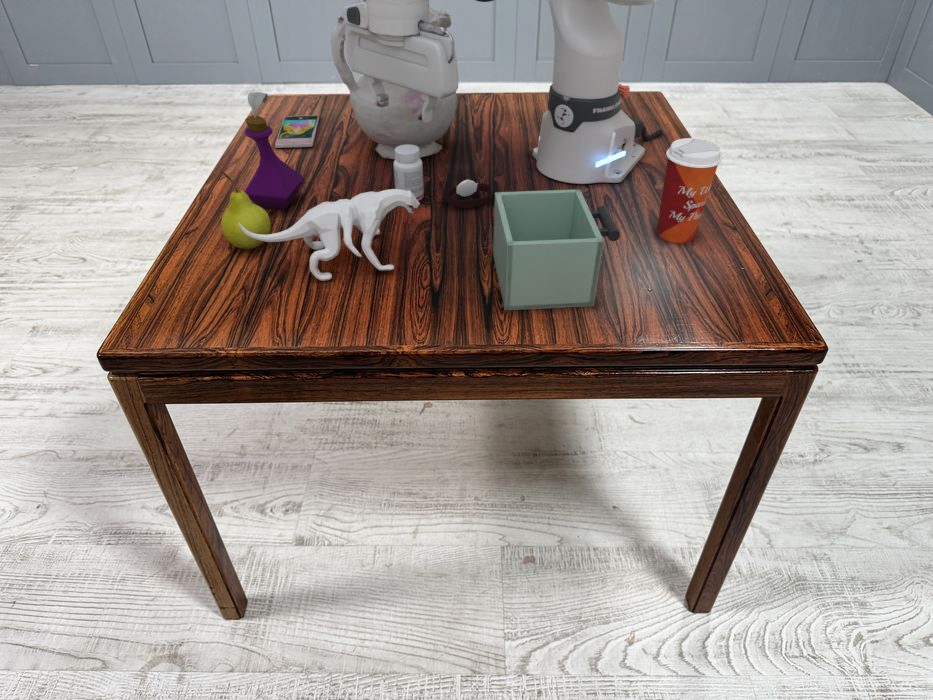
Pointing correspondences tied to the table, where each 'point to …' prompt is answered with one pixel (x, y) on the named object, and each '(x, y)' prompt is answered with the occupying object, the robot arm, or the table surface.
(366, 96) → the ceramic pitcher
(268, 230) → the fruit
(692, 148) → the paper cup
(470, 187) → the watch
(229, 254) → the table surface
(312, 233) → the white toy dinosaur
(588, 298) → the basket
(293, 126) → the smartphone
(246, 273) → the table surface
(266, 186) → the perfume bottle
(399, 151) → the pill bottle
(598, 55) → the robot arm
